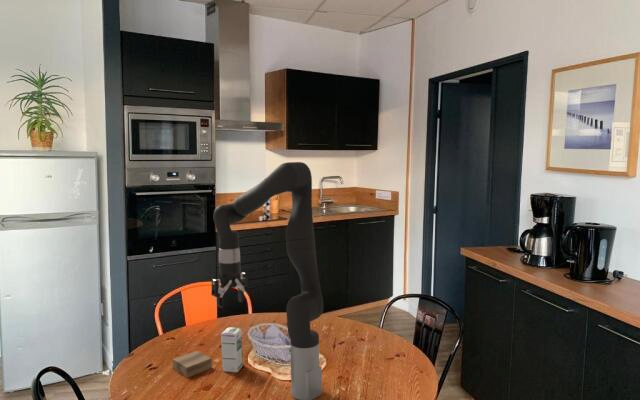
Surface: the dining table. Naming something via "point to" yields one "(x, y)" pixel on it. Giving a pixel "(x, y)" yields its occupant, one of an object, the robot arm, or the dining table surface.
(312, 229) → the robot arm
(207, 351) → the dining table surface
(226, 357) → the syrup box
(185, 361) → the walnut base block
